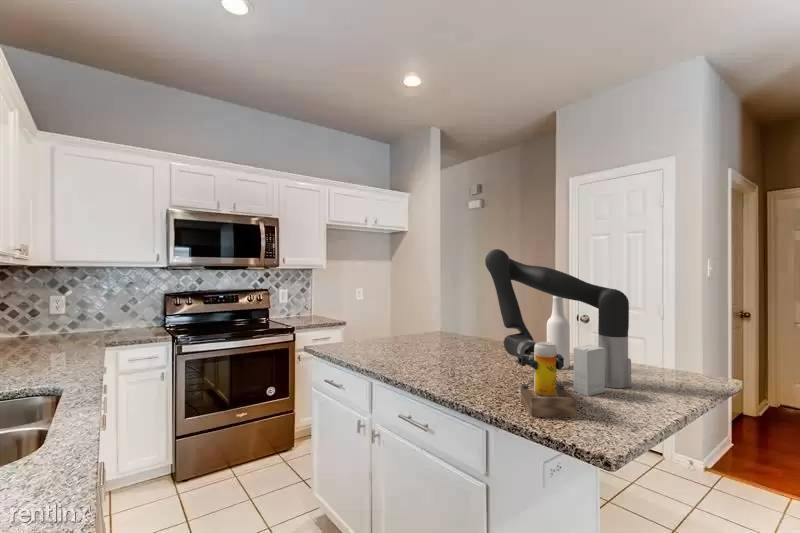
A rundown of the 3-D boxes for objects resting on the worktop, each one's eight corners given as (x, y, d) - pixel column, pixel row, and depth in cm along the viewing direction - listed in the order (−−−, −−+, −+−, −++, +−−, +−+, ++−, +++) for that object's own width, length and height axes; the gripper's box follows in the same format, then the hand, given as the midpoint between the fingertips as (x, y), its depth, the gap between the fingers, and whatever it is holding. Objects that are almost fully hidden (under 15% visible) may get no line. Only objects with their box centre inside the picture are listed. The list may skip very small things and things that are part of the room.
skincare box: (590, 388, 139) (590, 344, 139) (606, 393, 133) (605, 347, 133) (572, 391, 135) (572, 346, 135) (588, 396, 130) (587, 349, 130)
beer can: (557, 399, 115) (558, 345, 115) (535, 397, 116) (535, 344, 116) (554, 392, 121) (554, 341, 121) (532, 391, 122) (533, 340, 122)
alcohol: (567, 364, 173) (566, 293, 173) (571, 370, 164) (571, 294, 164) (545, 364, 174) (544, 293, 174) (548, 369, 166) (548, 294, 166)
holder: (561, 403, 123) (561, 383, 123) (576, 417, 112) (576, 395, 112) (520, 402, 124) (520, 383, 124) (531, 416, 112) (531, 395, 112)
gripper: (509, 341, 133) (522, 352, 116) (554, 341, 133) (574, 353, 116) (508, 364, 133) (522, 378, 116) (553, 365, 133) (573, 379, 116)
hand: (547, 366), depth 116 cm, fingers closed on beer can, 6 cm apart
